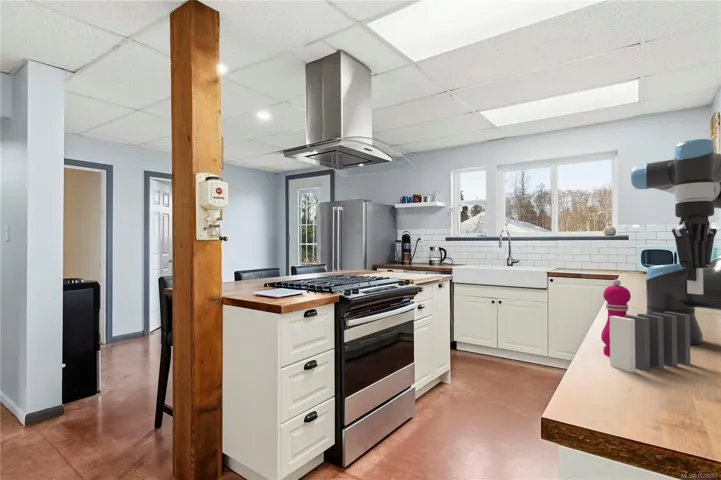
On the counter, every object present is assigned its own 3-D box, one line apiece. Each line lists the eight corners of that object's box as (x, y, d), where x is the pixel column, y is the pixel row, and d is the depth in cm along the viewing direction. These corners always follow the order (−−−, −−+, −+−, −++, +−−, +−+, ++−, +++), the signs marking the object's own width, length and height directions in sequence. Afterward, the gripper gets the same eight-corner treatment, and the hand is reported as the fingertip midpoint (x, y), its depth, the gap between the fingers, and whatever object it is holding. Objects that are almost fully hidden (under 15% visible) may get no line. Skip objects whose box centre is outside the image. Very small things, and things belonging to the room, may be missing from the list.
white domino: (615, 365, 93) (614, 315, 93) (635, 371, 88) (634, 319, 88) (610, 365, 93) (609, 316, 93) (630, 372, 88) (629, 320, 88)
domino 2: (642, 361, 96) (642, 313, 96) (663, 367, 91) (663, 317, 91) (637, 362, 95) (637, 313, 95) (658, 368, 91) (658, 317, 91)
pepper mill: (624, 361, 96) (623, 281, 97) (595, 353, 103) (594, 279, 103) (640, 356, 100) (639, 280, 100) (611, 350, 106) (610, 277, 106)
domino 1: (629, 363, 94) (628, 314, 95) (649, 369, 90) (649, 318, 90) (624, 364, 94) (623, 315, 94) (644, 370, 89) (644, 318, 89)
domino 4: (668, 358, 98) (668, 311, 99) (690, 364, 94) (689, 314, 94) (664, 358, 98) (663, 311, 98) (685, 364, 93) (685, 315, 93)
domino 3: (655, 360, 97) (655, 312, 97) (677, 366, 92) (676, 316, 92) (651, 360, 97) (650, 312, 97) (672, 366, 92) (671, 316, 92)
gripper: (695, 203, 104) (696, 291, 103) (660, 202, 100) (661, 292, 100) (729, 200, 97) (730, 294, 96) (692, 198, 93) (693, 296, 92)
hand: (695, 293), depth 98 cm, fingers closed
